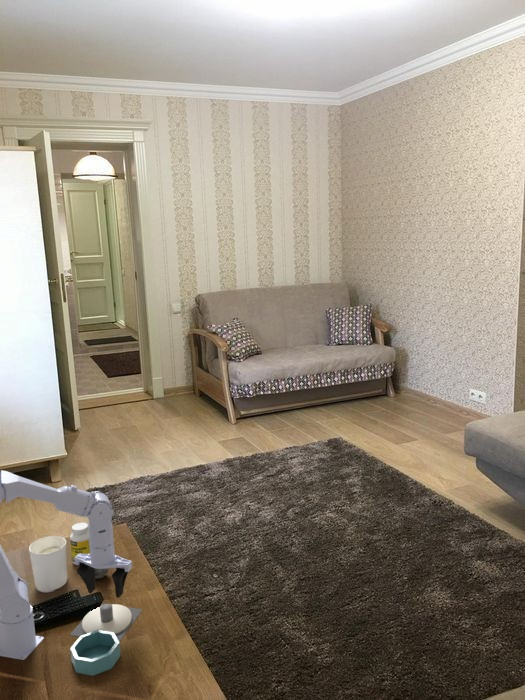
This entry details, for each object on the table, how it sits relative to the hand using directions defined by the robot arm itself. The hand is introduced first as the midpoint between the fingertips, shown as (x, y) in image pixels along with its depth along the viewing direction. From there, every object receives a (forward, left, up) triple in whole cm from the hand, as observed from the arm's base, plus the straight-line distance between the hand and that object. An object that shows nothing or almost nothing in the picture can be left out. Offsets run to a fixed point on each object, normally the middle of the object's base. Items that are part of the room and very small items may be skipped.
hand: (105, 593), depth 148 cm
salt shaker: (-12, +17, -9) cm, 23 cm away
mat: (0, 0, -8) cm, 8 cm away
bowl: (+4, -13, -8) cm, 16 cm away
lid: (0, 0, -8) cm, 8 cm away
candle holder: (-24, +12, -9) cm, 29 cm away
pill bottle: (-22, +25, -9) cm, 35 cm away
